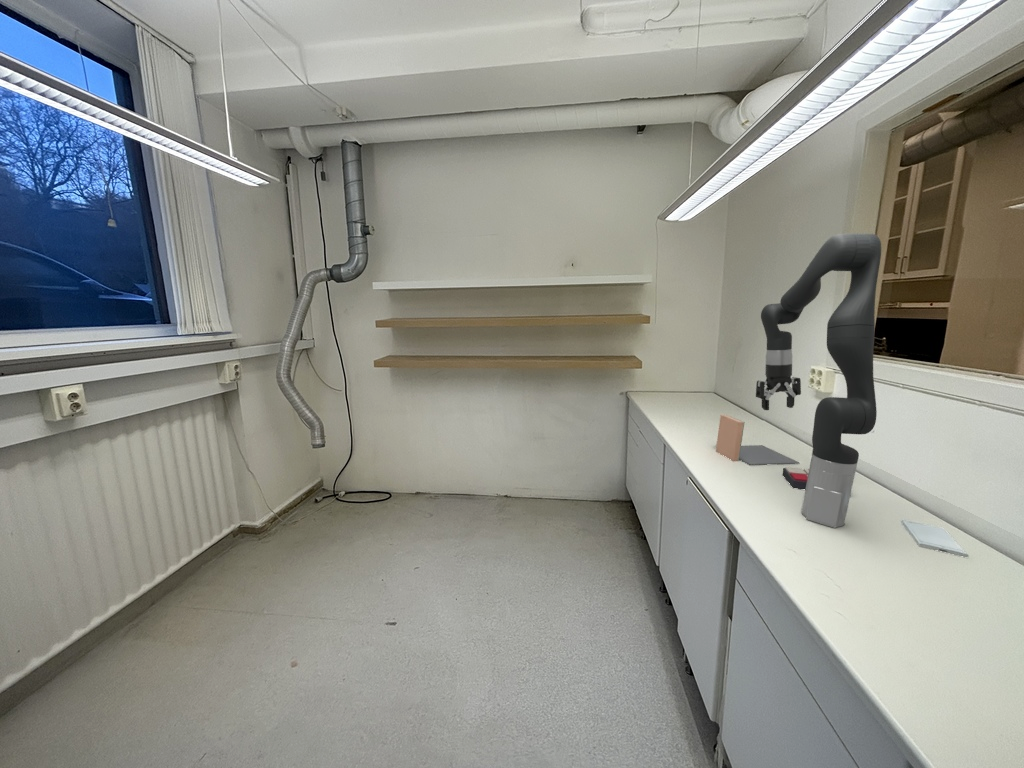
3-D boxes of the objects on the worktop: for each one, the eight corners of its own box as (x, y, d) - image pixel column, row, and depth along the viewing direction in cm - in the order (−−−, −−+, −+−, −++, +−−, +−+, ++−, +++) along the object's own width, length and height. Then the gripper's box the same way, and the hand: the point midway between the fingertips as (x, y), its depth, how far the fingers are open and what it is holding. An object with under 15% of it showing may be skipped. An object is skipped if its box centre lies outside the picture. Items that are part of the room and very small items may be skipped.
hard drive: (901, 519, 103) (919, 542, 92) (945, 528, 99) (969, 553, 88) (900, 524, 103) (918, 548, 93) (943, 534, 99) (967, 560, 89)
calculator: (782, 465, 131) (836, 470, 126) (781, 477, 132) (835, 482, 127) (793, 478, 121) (852, 484, 116) (792, 491, 122) (851, 497, 117)
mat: (749, 465, 139) (749, 464, 139) (717, 447, 156) (717, 446, 156) (799, 463, 142) (799, 462, 142) (762, 446, 159) (762, 445, 159)
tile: (733, 461, 142) (738, 422, 139) (715, 451, 152) (720, 414, 149) (739, 461, 143) (745, 422, 140) (721, 451, 152) (726, 414, 150)
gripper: (765, 365, 128) (765, 413, 131) (807, 361, 128) (806, 409, 131) (751, 363, 135) (750, 408, 138) (790, 359, 136) (789, 404, 138)
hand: (777, 408), depth 134 cm, fingers open, 8 cm apart
